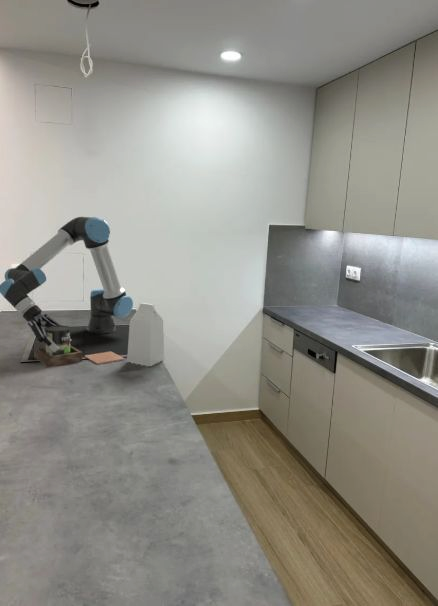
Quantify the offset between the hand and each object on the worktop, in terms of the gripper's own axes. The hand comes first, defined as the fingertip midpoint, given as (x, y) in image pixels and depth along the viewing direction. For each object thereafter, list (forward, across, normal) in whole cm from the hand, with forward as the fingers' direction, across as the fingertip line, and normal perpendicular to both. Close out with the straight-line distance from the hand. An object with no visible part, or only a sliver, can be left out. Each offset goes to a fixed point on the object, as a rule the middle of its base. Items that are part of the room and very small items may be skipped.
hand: (63, 346), depth 200 cm
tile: (+16, -6, +7) cm, 18 cm away
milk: (+29, -6, +20) cm, 36 cm away
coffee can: (+3, 0, -6) cm, 7 cm away
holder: (+3, 0, -6) cm, 7 cm away
